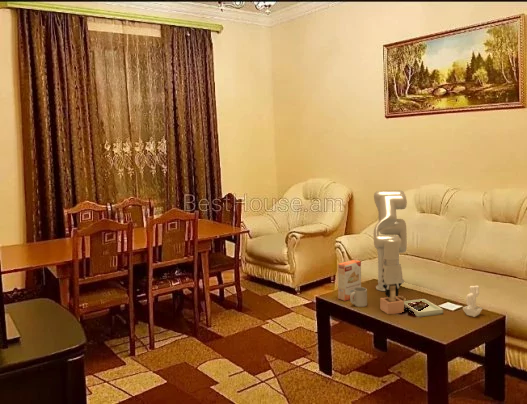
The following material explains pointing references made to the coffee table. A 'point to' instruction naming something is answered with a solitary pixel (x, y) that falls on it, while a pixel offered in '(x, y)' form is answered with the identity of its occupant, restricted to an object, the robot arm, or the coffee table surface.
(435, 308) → the tray
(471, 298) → the figurine
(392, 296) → the dowel
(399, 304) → the holder
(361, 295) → the cup
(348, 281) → the cracker box
